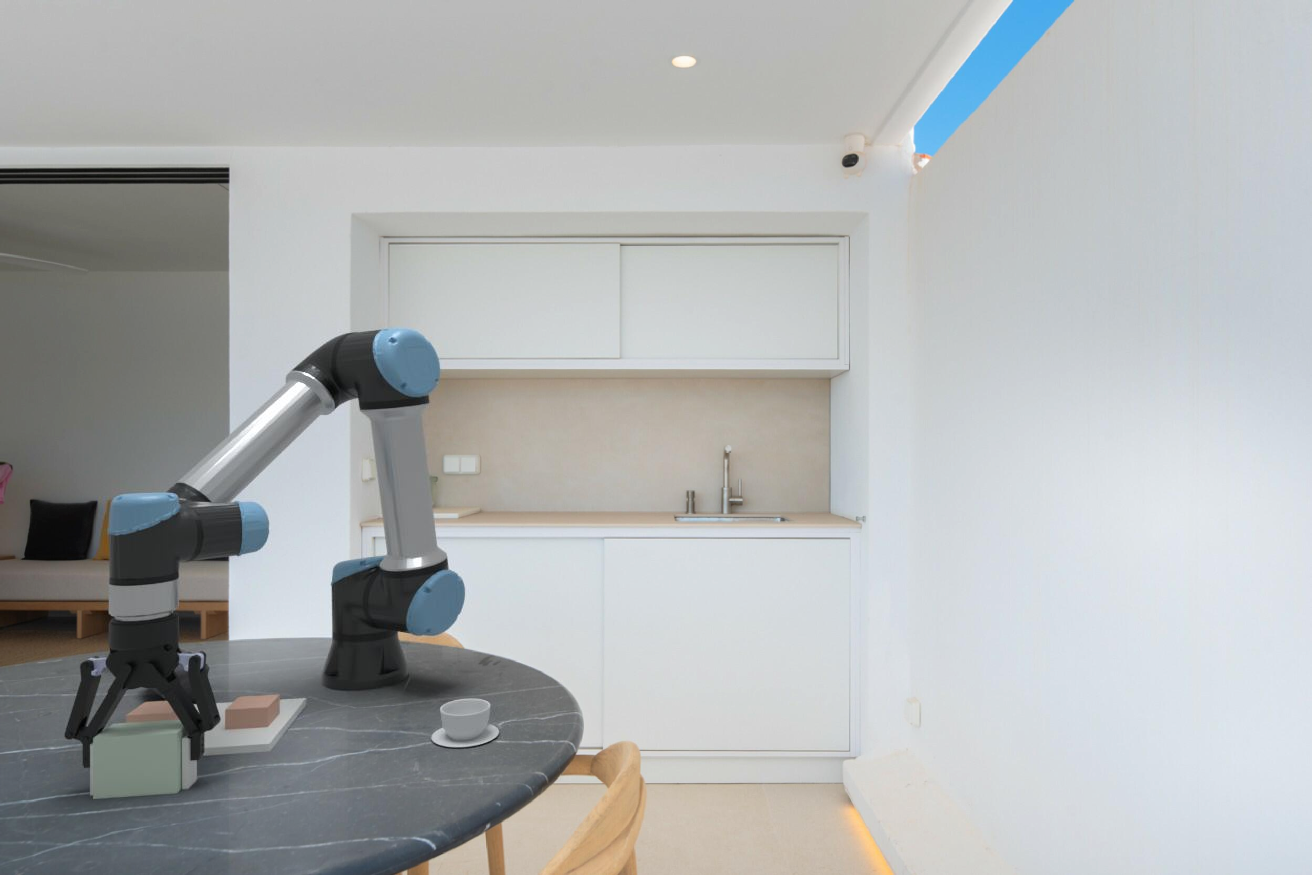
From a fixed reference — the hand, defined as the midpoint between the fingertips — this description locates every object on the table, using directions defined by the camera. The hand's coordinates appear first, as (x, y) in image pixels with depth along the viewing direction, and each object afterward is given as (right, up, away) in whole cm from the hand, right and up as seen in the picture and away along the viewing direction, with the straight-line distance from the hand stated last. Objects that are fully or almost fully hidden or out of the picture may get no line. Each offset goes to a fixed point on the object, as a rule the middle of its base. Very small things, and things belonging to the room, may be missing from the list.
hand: (144, 787), depth 100 cm
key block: (0, 0, 0) cm, 0 cm away
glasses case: (-18, -1, +36) cm, 40 cm away
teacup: (+37, -1, +18) cm, 41 cm away
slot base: (-4, 0, +20) cm, 20 cm away
